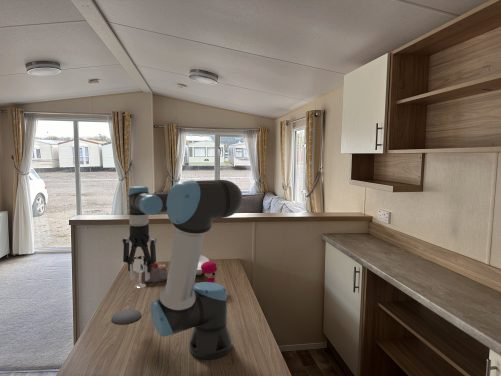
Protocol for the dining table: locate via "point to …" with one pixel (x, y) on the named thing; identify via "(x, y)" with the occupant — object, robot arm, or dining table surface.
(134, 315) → the coaster
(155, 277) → the food item
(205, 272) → the toy
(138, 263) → the wineglass
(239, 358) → the dining table surface
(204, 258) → the bowl
